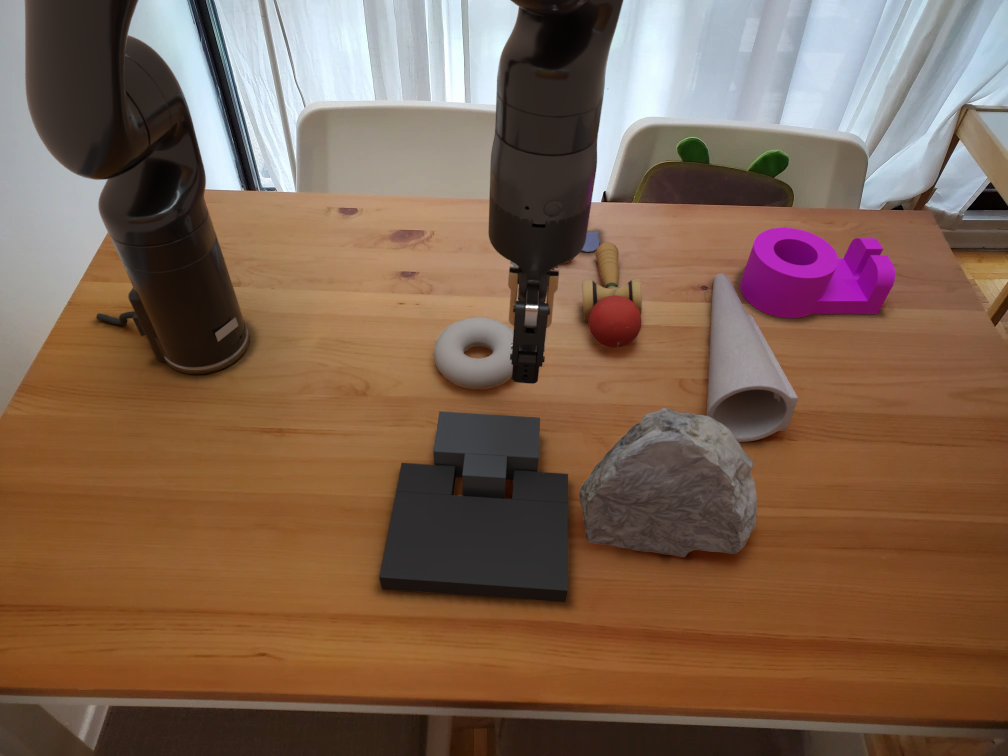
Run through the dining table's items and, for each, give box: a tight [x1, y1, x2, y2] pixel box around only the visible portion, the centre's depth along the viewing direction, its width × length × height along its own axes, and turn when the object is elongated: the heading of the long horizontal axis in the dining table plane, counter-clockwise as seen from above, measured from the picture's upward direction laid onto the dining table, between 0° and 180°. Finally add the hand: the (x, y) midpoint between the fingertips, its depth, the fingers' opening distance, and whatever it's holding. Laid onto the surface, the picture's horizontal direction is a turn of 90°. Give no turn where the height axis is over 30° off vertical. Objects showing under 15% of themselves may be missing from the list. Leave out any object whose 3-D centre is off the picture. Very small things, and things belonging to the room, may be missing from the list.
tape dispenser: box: [739, 227, 896, 319], centre depth 89 cm, size 16×10×6 cm, turn 92°
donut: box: [432, 316, 514, 390], centre depth 80 cm, size 10×4×10 cm
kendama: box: [581, 242, 643, 350], centre depth 87 cm, size 8×6×18 cm
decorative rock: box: [578, 407, 758, 558], centre depth 62 cm, size 16×7×15 cm, turn 82°
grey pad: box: [432, 410, 541, 499], centre depth 70 cm, size 10×8×4 cm
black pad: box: [378, 462, 569, 603], centre depth 66 cm, size 16×12×2 cm
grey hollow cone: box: [706, 272, 799, 443], centre depth 82 cm, size 8×9×26 cm
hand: (527, 345), depth 64 cm, fingers open, 8 cm apart
